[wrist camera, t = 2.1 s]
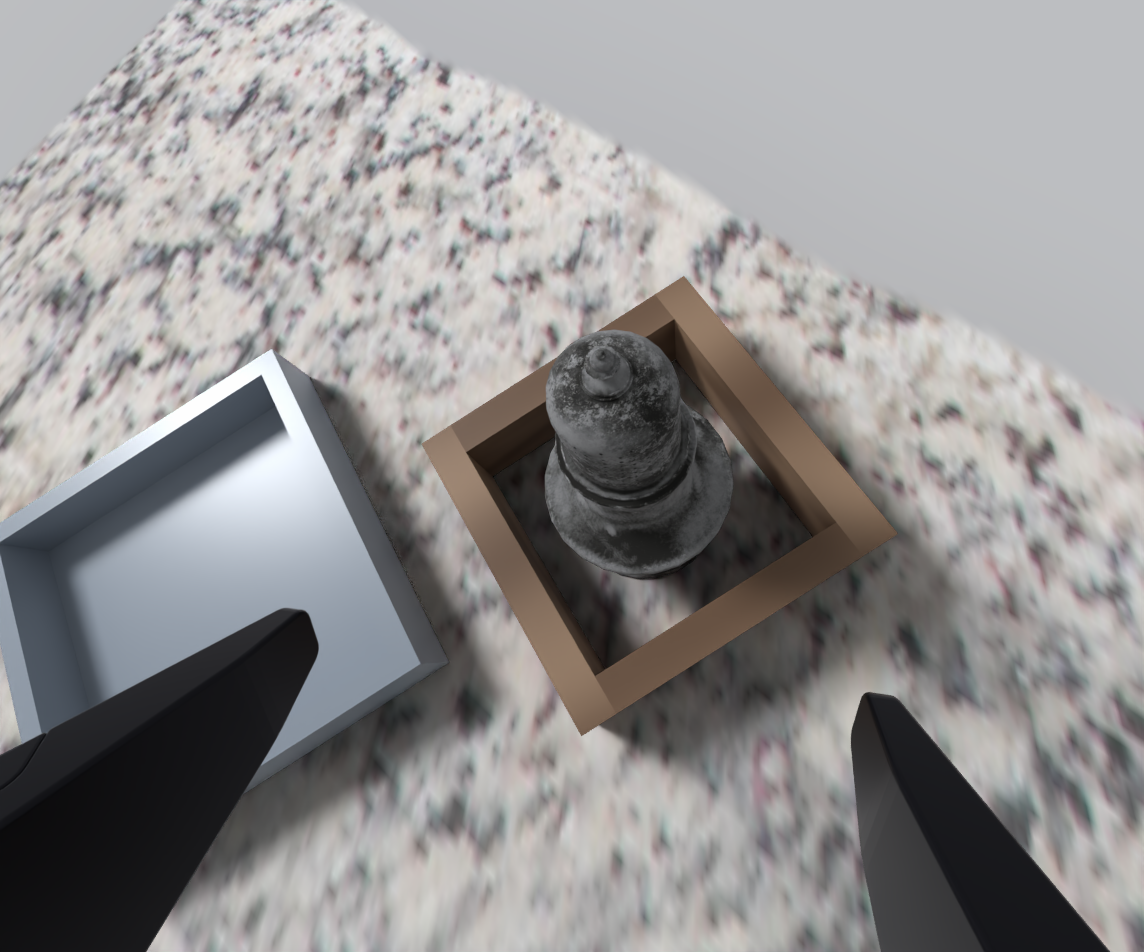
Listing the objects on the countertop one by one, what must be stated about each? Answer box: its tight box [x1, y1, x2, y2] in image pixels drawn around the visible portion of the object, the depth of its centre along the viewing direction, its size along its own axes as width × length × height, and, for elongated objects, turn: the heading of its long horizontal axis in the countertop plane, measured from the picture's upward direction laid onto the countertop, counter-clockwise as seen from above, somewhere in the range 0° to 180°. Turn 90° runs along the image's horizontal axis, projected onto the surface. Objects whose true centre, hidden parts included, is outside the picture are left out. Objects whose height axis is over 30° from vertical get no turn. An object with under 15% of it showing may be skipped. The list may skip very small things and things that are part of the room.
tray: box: [0, 349, 449, 794], centre depth 23 cm, size 14×14×2 cm
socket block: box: [422, 276, 898, 736], centre depth 21 cm, size 11×11×3 cm
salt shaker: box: [545, 330, 734, 578], centre depth 16 cm, size 6×6×12 cm
